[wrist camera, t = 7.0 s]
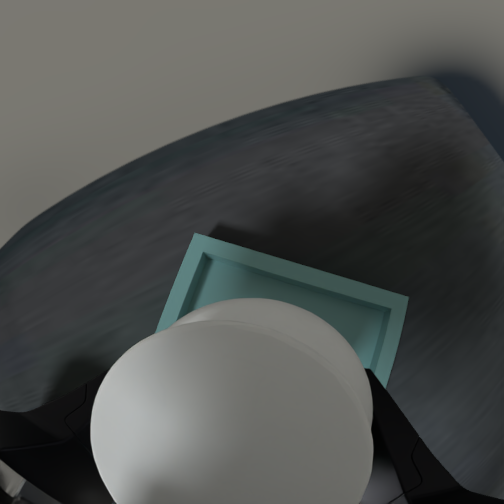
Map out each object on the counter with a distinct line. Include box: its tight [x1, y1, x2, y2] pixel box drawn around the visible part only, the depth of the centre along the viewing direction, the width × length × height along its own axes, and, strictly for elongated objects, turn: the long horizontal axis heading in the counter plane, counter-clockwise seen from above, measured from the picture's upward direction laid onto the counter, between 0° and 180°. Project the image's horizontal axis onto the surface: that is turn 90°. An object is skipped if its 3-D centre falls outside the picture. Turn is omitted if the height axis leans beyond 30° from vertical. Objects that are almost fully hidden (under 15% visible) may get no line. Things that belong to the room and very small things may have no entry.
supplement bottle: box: [91, 298, 373, 504], centre depth 9 cm, size 7×7×13 cm
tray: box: [155, 233, 409, 388], centre depth 16 cm, size 14×14×2 cm
